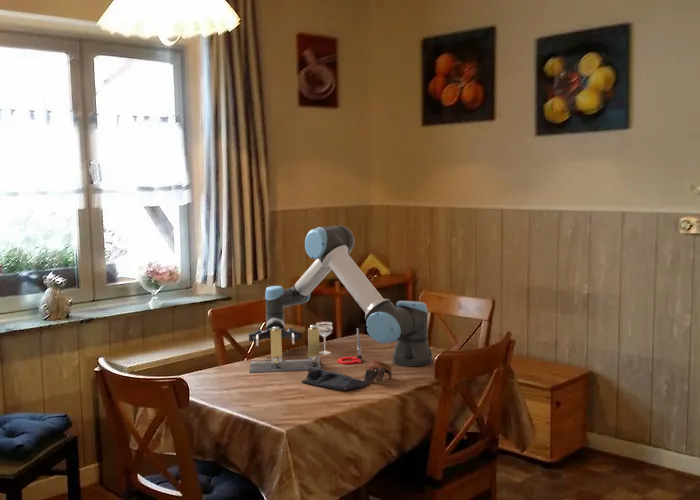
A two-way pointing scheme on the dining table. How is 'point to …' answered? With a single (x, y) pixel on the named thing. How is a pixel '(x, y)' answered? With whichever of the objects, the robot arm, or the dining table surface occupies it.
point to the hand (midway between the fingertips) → (275, 341)
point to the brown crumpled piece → (377, 371)
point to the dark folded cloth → (332, 380)
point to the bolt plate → (297, 363)
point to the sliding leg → (276, 345)
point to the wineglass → (324, 332)
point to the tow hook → (356, 359)
